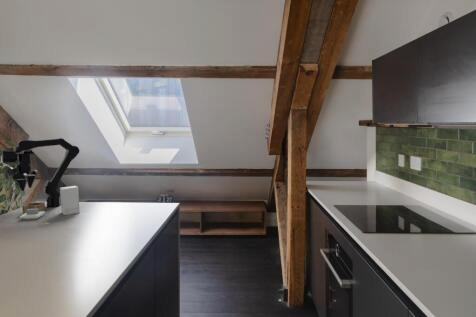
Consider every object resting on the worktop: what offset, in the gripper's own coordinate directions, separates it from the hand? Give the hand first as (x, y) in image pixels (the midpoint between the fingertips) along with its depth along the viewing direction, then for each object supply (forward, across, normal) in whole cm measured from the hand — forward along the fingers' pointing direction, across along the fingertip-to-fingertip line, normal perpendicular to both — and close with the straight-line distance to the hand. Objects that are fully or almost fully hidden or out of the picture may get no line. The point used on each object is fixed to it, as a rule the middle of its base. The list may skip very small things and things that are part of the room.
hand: (26, 189), depth 182 cm
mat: (+12, +15, +10) cm, 22 cm away
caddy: (+12, +9, +7) cm, 16 cm away
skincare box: (+12, +12, +26) cm, 31 cm away
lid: (+11, +19, +10) cm, 24 cm away
